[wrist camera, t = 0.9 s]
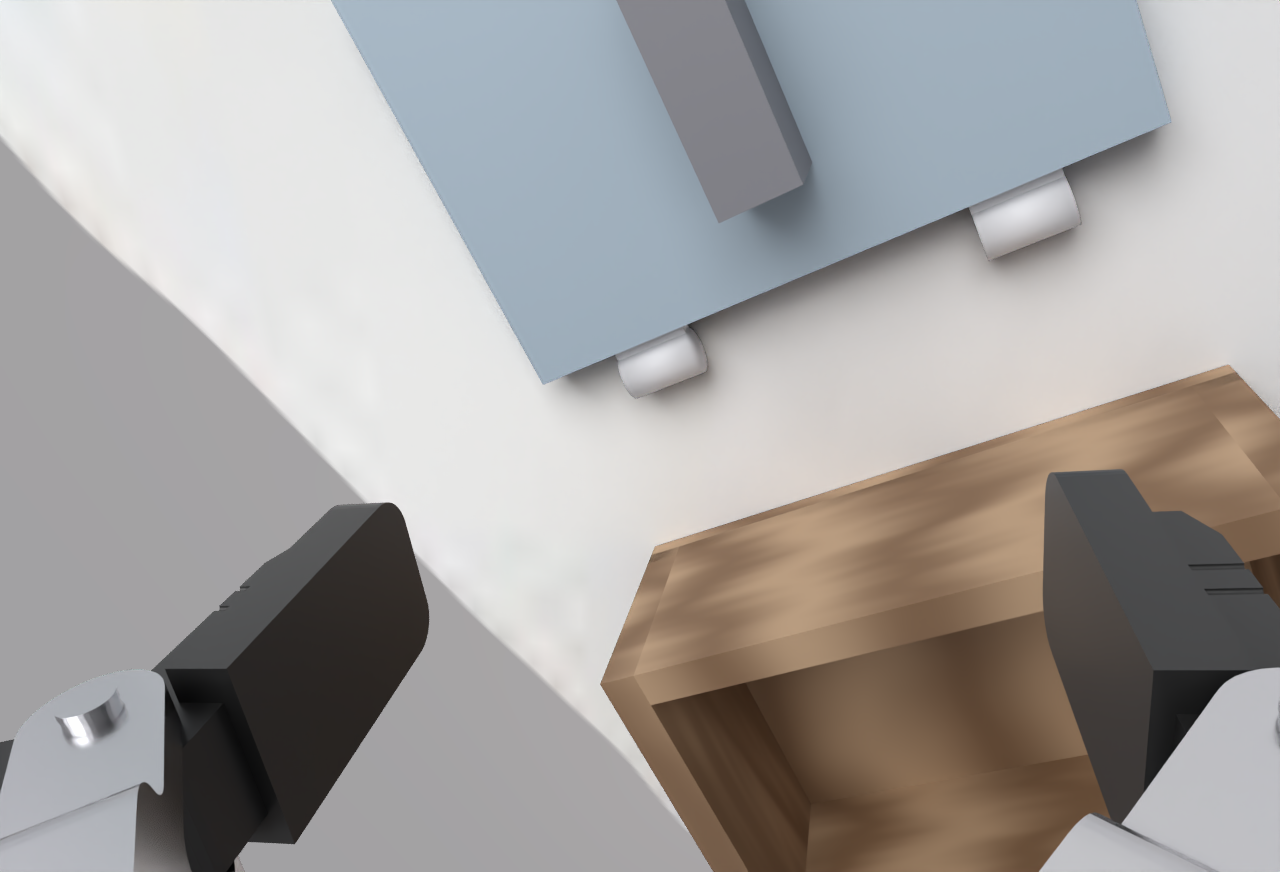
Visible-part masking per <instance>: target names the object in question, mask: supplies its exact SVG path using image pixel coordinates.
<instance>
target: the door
mask: <svg viewBox="0 0 1280 872" xmlns="http://www.w3.org/2000/svg"><path fill="white" fill-rule="evenodd" d="M331 1H332V3H333V5H334V7H335V8H336V10H337V12H338V14H339V16H340V17H341V19H342V21H343V23H344V25H345V27H346V28H347V30H348V32H349V34H350V36H351V37H352V39H353V41H354V43H355V45H356V46H357V48H358V50H359V52H360V54H361V56H362V57H363V59H364V61H365V63H366V65H367V66H368V68H369V70H370V72H371V74H372V75H373V77H374V79H375V81H376V83H377V85H378V86H379V88H380V90H381V92H382V94H383V95H384V97H385V99H386V101H387V103H388V104H389V106H390V108H391V110H392V112H393V114H394V115H395V117H396V119H397V121H398V123H399V124H400V126H401V128H402V130H403V132H404V133H405V135H406V137H407V139H408V141H409V143H410V144H411V146H412V148H413V150H414V152H415V153H416V155H417V157H418V159H419V161H420V162H421V164H422V166H423V168H424V170H425V172H426V173H427V175H428V177H429V179H430V181H431V182H432V184H433V186H434V188H435V190H436V191H437V193H438V195H439V197H440V199H441V201H442V202H443V204H444V206H445V208H446V210H447V211H448V213H449V215H450V217H451V219H452V220H453V222H454V224H455V226H456V228H457V230H458V231H459V233H460V235H461V237H462V239H463V240H464V242H465V244H466V246H467V248H468V249H469V251H470V253H471V255H472V257H473V259H474V260H475V262H476V264H477V266H478V268H479V269H480V271H481V273H482V275H483V277H484V278H485V280H486V282H487V284H488V286H489V288H490V289H491V291H492V293H493V295H494V297H495V298H496V300H497V302H498V304H499V306H500V307H501V309H502V311H503V313H504V315H505V317H506V318H507V320H508V322H509V324H510V326H511V327H512V329H513V331H514V333H515V335H516V336H517V338H518V340H519V342H520V344H521V346H522V347H523V349H524V351H525V353H526V355H527V356H528V358H529V360H530V362H531V364H532V366H533V367H534V369H535V371H536V373H537V375H538V376H539V378H540V380H541V382H542V384H543V385H544V384H546V383H549V382H551V381H553V380H556V379H558V378H560V377H563V376H565V375H568V374H570V373H572V372H575V371H577V370H580V369H582V368H584V367H587V366H589V365H592V364H594V363H596V362H599V361H601V360H604V359H606V358H608V357H611V356H613V355H615V356H616V358H617V360H618V368H619V373H620V376H621V379H622V382H623V384H624V386H625V388H626V389H627V391H628V392H629V393H630V394H631V395H632V396H633V397H634V398H640V397H643V396H645V395H648V394H650V393H653V392H656V391H658V390H661V389H663V388H666V387H668V386H671V385H673V384H676V383H678V382H681V381H684V380H686V379H689V378H691V377H694V376H696V375H699V374H701V373H704V372H706V371H707V367H708V365H707V358H706V354H705V351H704V348H703V346H702V343H701V341H700V339H699V337H698V336H697V334H696V333H695V332H694V330H693V329H691V328H689V327H688V325H687V324H690V323H692V322H694V321H697V320H699V319H702V318H704V317H706V316H709V315H711V314H714V313H716V312H718V311H721V310H723V309H726V308H728V307H730V306H733V305H735V304H738V303H740V302H742V301H745V300H747V299H750V298H752V297H754V296H757V295H759V294H761V293H764V292H766V291H769V290H771V289H773V288H776V287H778V286H781V285H783V284H785V283H788V282H790V281H793V280H795V279H797V278H800V277H802V276H805V275H807V274H809V273H812V272H814V271H817V270H819V269H821V268H824V267H826V266H828V265H831V264H833V263H836V262H838V261H840V260H843V259H845V258H848V257H850V256H852V255H855V254H857V253H860V252H862V251H864V250H867V249H869V248H872V247H874V246H876V245H879V244H881V243H884V242H886V241H888V240H891V239H893V238H895V237H898V236H900V235H903V234H905V233H907V232H910V231H912V230H915V229H917V228H919V227H922V226H924V225H927V224H929V223H931V222H934V221H936V220H939V219H941V218H943V217H946V216H948V215H951V214H953V213H955V212H958V211H960V210H962V209H965V208H967V207H969V210H970V213H971V215H972V218H973V221H974V224H975V226H976V229H977V232H978V235H979V237H980V240H981V243H982V245H983V248H984V250H985V253H986V256H987V258H988V261H990V260H992V259H995V258H997V257H1000V256H1003V255H1005V254H1008V253H1010V252H1013V251H1015V250H1018V249H1020V248H1023V247H1025V246H1028V245H1031V244H1033V243H1036V242H1038V241H1041V240H1043V239H1046V238H1048V237H1051V236H1054V235H1056V234H1059V233H1061V232H1064V231H1066V230H1069V229H1071V228H1074V227H1077V226H1079V225H1081V218H1080V214H1079V210H1078V207H1077V204H1076V201H1075V198H1074V196H1073V193H1072V190H1071V188H1070V186H1069V183H1068V181H1067V179H1066V177H1065V175H1064V172H1063V169H1062V168H1063V167H1065V166H1068V165H1070V164H1073V163H1075V162H1077V161H1080V160H1082V159H1085V158H1087V157H1089V156H1092V155H1094V154H1096V153H1099V152H1101V151H1104V150H1106V149H1108V148H1111V147H1113V146H1116V145H1118V144H1120V143H1123V142H1125V141H1128V140H1130V139H1132V138H1135V137H1137V136H1140V135H1142V134H1144V133H1147V132H1149V131H1152V130H1154V129H1156V128H1159V127H1161V126H1163V125H1166V124H1168V123H1171V118H1170V115H1169V111H1168V108H1167V104H1166V101H1165V97H1164V94H1163V91H1162V87H1161V84H1160V80H1159V77H1158V73H1157V70H1156V66H1155V63H1154V60H1153V56H1152V53H1151V49H1150V46H1149V42H1148V39H1147V35H1146V32H1145V29H1144V25H1143V22H1142V18H1141V15H1140V11H1139V8H1138V5H1137V1H1136V0H331Z"/></svg>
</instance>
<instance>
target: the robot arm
mask: <svg viewBox="0 0 1280 872" xmlns="http://www.w3.org/2000/svg"><path fill="white" fill-rule="evenodd" d="M1043 611H1044V620H1045V627H1046V633H1047V638H1048V642H1049V646H1050V649H1051V652H1052V655H1053V658H1054V660H1055V663H1056V666H1057V669H1058V672H1059V675H1060V677H1061V680H1062V683H1063V686H1064V689H1065V691H1066V694H1067V697H1068V700H1069V703H1070V705H1071V708H1072V711H1073V714H1074V717H1075V720H1076V722H1077V725H1078V728H1079V731H1080V734H1081V736H1082V739H1083V742H1084V745H1085V748H1086V750H1087V753H1088V756H1089V759H1090V762H1091V765H1092V767H1093V770H1094V773H1095V776H1096V779H1097V781H1098V784H1099V787H1100V790H1101V793H1102V796H1103V798H1104V801H1105V804H1106V807H1107V810H1108V812H1109V815H1110V818H1111V819H1110V818H1108V817H1106V816H1104V815H1101V814H1099V813H1096V812H1094V813H1090V814H1088V815H1086V816H1085V817H1083V818H1082V819H1081V820H1080V821H1079V822H1078V823H1077V824H1076V825H1075V826H1074V827H1073V828H1072V830H1071V831H1070V832H1069V833H1068V834H1067V836H1066V837H1065V838H1064V840H1063V841H1062V842H1061V844H1060V845H1059V846H1058V847H1057V849H1056V850H1055V851H1054V853H1053V854H1052V855H1051V857H1050V858H1049V859H1048V860H1047V862H1046V863H1045V864H1044V866H1043V867H1042V868H1041V870H1040V871H1039V872H1280V609H1279V607H1278V606H1277V605H1276V603H1275V602H1274V601H1273V600H1272V598H1271V597H1270V596H1269V594H1264V592H1263V587H1262V585H1261V584H1260V583H1259V581H1258V580H1257V579H1256V578H1255V576H1254V575H1253V574H1252V572H1251V571H1250V570H1249V569H1245V567H1244V562H1243V561H1242V560H1241V558H1240V557H1239V556H1238V554H1237V553H1236V552H1235V551H1234V549H1233V548H1232V547H1231V545H1230V544H1229V543H1228V541H1227V540H1226V539H1225V538H1224V536H1223V535H1222V534H1221V533H1219V532H1217V531H1215V530H1214V529H1212V528H1210V527H1208V526H1207V525H1205V524H1203V523H1202V522H1200V521H1198V520H1196V519H1195V518H1193V517H1191V516H1190V515H1188V514H1186V513H1184V512H1183V511H1159V512H1152V510H1151V509H1150V507H1149V506H1148V504H1147V503H1146V501H1145V500H1144V498H1143V497H1142V495H1141V494H1140V492H1139V491H1138V489H1137V488H1136V486H1135V485H1134V483H1133V482H1132V480H1131V479H1130V477H1129V476H1128V474H1127V473H1126V472H1125V471H1124V470H1123V469H1112V470H1091V471H1070V472H1051V473H1049V475H1048V478H1047V482H1046V489H1045V516H1044V555H1043ZM428 627H429V609H428V603H427V599H426V595H425V592H424V588H423V584H422V581H421V577H420V574H419V570H418V566H417V563H416V559H415V556H414V552H413V548H412V545H411V541H410V538H409V534H408V530H407V527H406V523H405V520H404V517H403V515H402V513H401V511H400V510H399V508H398V507H397V506H396V505H394V504H393V503H368V504H347V505H337V506H334V507H333V508H331V509H330V510H329V511H328V512H327V513H326V514H325V515H324V516H323V517H322V518H321V519H320V520H319V521H318V522H317V523H316V524H315V525H314V526H312V528H310V529H309V530H308V531H307V532H306V533H305V534H304V535H303V536H302V537H301V538H300V539H299V540H298V541H297V542H296V543H295V544H294V545H293V546H292V547H291V548H290V549H288V550H286V551H284V552H283V553H281V554H279V555H278V556H276V557H274V558H273V559H271V560H269V561H268V562H266V563H264V565H262V566H261V567H260V568H259V569H258V570H257V571H256V572H255V573H254V574H253V575H252V576H251V577H250V578H249V579H248V580H247V581H245V582H244V583H243V584H242V585H241V586H240V591H235V592H234V593H233V594H232V595H231V596H230V597H229V598H227V600H225V601H224V602H223V603H222V604H221V605H220V610H219V611H214V612H213V613H212V614H211V615H210V616H209V617H207V618H206V619H205V620H204V621H203V622H202V623H201V624H200V625H199V626H198V627H197V628H196V629H195V630H194V631H193V632H192V633H190V635H188V636H187V637H186V638H185V639H184V640H183V641H182V642H181V643H180V644H179V645H178V646H177V647H176V648H175V649H174V650H173V651H172V652H170V653H169V655H167V656H166V657H165V658H164V659H163V660H162V661H161V662H160V663H159V664H158V665H157V666H156V667H155V668H154V669H152V670H151V671H150V670H142V669H133V670H125V671H118V672H114V673H110V674H106V675H103V676H100V677H97V678H94V679H91V680H89V681H86V682H84V683H81V684H79V685H77V686H75V687H73V688H71V689H69V690H67V691H65V692H63V693H62V694H60V695H58V696H57V697H55V698H53V699H52V700H50V701H49V702H47V703H46V704H45V705H43V706H42V707H41V708H39V709H38V710H37V711H36V712H35V713H34V714H33V715H31V716H30V717H29V718H28V719H27V720H26V722H25V723H24V724H23V725H22V726H21V728H20V729H19V731H18V732H17V734H16V736H15V739H14V740H9V741H5V742H0V872H245V871H244V868H243V866H242V864H241V861H240V859H239V857H238V855H239V853H240V852H241V850H242V849H243V848H244V846H245V845H246V844H247V842H264V843H283V844H295V843H296V842H297V840H298V839H299V837H300V835H301V834H302V832H303V831H304V829H305V828H306V826H307V825H308V823H309V822H310V820H311V819H312V817H313V816H314V814H315V813H316V811H317V809H318V808H319V806H320V805H321V803H322V802H323V800H324V799H325V797H326V796H327V794H328V793H329V791H330V790H331V788H332V787H333V785H334V784H335V782H336V781H337V779H338V778H339V776H340V775H341V773H342V771H343V770H344V768H345V767H346V765H347V764H348V762H349V761H350V759H351V758H352V756H353V755H354V753H355V752H356V750H357V749H358V747H359V745H360V744H361V742H362V741H363V739H364V738H365V736H366V735H367V733H368V732H369V730H370V729H371V727H372V726H373V724H374V723H375V721H376V720H377V718H378V717H379V715H380V714H381V712H382V710H383V709H384V707H385V706H386V704H387V703H388V701H389V700H390V698H391V697H392V695H393V694H394V692H395V691H396V689H397V688H398V686H399V684H400V683H401V681H402V680H403V678H404V677H405V675H406V674H407V672H408V671H409V669H410V668H411V666H412V665H413V663H414V662H415V660H416V659H417V657H418V655H419V654H420V652H421V651H422V649H423V647H424V645H425V642H426V638H427V634H428Z"/></svg>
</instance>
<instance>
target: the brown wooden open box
mask: <svg viewBox="0 0 1280 872" xmlns="http://www.w3.org/2000/svg"><path fill="white" fill-rule="evenodd" d="M1112 469H1123V470H1124V471H1125V472H1126V473H1127V474H1128V476H1129V477H1130V479H1131V480H1132V482H1133V483H1134V485H1135V486H1136V488H1137V489H1138V491H1139V492H1140V494H1141V495H1142V497H1143V498H1144V500H1145V501H1146V503H1147V504H1148V506H1149V507H1150V509H1151V510H1152V512H1159V511H1183V512H1184V513H1186V514H1188V515H1190V516H1191V517H1193V518H1195V519H1196V520H1198V521H1200V522H1202V523H1203V524H1205V525H1207V526H1208V527H1210V528H1212V529H1214V530H1215V531H1217V532H1219V533H1221V534H1222V535H1223V536H1224V538H1225V539H1226V540H1227V541H1228V543H1229V544H1230V545H1231V547H1232V548H1233V549H1234V551H1235V552H1236V553H1237V554H1238V556H1239V557H1240V558H1241V560H1242V561H1243V562H1244V567H1245V569H1249V570H1250V571H1251V572H1252V574H1253V575H1254V576H1255V578H1256V579H1257V580H1258V581H1259V583H1260V584H1261V585H1262V587H1263V592H1264V594H1269V596H1270V597H1271V598H1272V600H1273V601H1274V602H1275V603H1276V605H1277V606H1278V607H1279V609H1280V419H1279V418H1278V417H1277V416H1276V415H1275V414H1274V413H1273V411H1272V410H1271V409H1270V408H1269V407H1268V406H1267V405H1266V404H1265V403H1264V402H1263V401H1262V400H1261V399H1260V398H1259V396H1258V395H1257V394H1256V393H1255V392H1254V391H1253V390H1252V389H1251V388H1250V387H1249V386H1248V385H1247V384H1246V383H1245V382H1244V380H1243V379H1242V378H1241V377H1240V376H1239V375H1238V374H1237V373H1236V372H1235V371H1234V370H1233V369H1232V368H1231V367H1230V365H1226V366H1223V367H1220V368H1217V369H1214V370H1210V371H1207V372H1204V373H1201V374H1198V375H1195V376H1192V377H1188V378H1185V379H1182V380H1179V381H1176V382H1173V383H1169V384H1166V385H1163V386H1160V387H1157V388H1154V389H1151V390H1147V391H1144V392H1141V393H1138V394H1135V395H1132V396H1128V397H1125V398H1122V399H1119V400H1116V401H1113V402H1110V403H1106V404H1103V405H1100V406H1097V407H1094V408H1091V409H1087V410H1084V411H1081V412H1078V413H1075V414H1072V415H1069V416H1065V417H1062V418H1059V419H1056V420H1053V421H1050V422H1046V423H1043V424H1040V425H1037V426H1034V427H1031V428H1028V429H1024V430H1021V431H1018V432H1015V433H1012V434H1009V435H1005V436H1002V437H999V438H996V439H993V440H990V441H987V442H983V443H980V444H977V445H974V446H971V447H968V448H964V449H961V450H958V451H955V452H952V453H949V454H946V455H942V456H939V457H936V458H933V459H930V460H927V461H923V462H920V463H917V464H914V465H911V466H908V467H905V468H901V469H898V470H895V471H892V472H889V473H886V474H882V475H879V476H876V477H873V478H870V479H867V480H864V481H860V482H857V483H854V484H851V485H848V486H845V487H841V488H838V489H835V490H832V491H829V492H826V493H823V494H819V495H816V496H813V497H810V498H807V499H804V500H800V501H797V502H794V503H791V504H788V505H785V506H782V507H778V508H775V509H772V510H769V511H766V512H763V513H759V514H756V515H753V516H750V517H747V518H744V519H741V520H737V521H734V522H731V523H728V524H725V525H722V526H718V527H715V528H712V529H709V530H706V531H703V532H700V533H696V534H693V535H690V536H687V537H684V538H681V539H677V540H674V541H671V542H668V543H665V544H662V545H659V546H655V548H654V550H653V553H652V555H651V558H650V560H649V563H648V565H647V568H646V570H645V573H644V576H643V578H642V581H641V583H640V586H639V588H638V591H637V593H636V596H635V598H634V601H633V603H632V606H631V608H630V611H629V613H628V616H627V618H626V621H625V623H624V626H623V628H622V631H621V633H620V636H619V638H618V641H617V643H616V646H615V648H614V651H613V653H612V656H611V658H610V661H609V664H608V666H607V669H606V671H605V674H604V676H603V679H602V681H601V684H600V685H601V686H602V688H603V690H604V691H605V693H606V695H607V696H608V698H609V700H610V701H611V703H612V705H613V706H614V708H615V710H616V711H617V713H618V715H619V716H620V718H621V720H622V721H623V723H624V724H625V726H626V728H627V729H628V731H629V733H630V734H631V736H632V738H633V739H634V741H635V743H636V744H637V746H638V748H639V749H640V751H641V753H642V754H643V756H644V758H645V759H646V761H647V763H648V764H649V766H650V768H651V769H652V771H653V773H654V774H655V776H656V777H657V779H658V781H659V782H660V784H661V786H662V787H663V789H664V791H665V792H666V794H667V796H668V797H669V799H670V801H671V802H672V804H673V806H674V807H675V809H676V811H677V812H678V814H679V816H680V817H681V819H682V821H683V822H684V824H685V826H686V827H687V829H688V830H689V832H690V834H691V835H692V837H693V839H694V840H695V842H696V844H697V845H698V847H699V848H700V850H701V852H702V854H703V855H704V857H705V859H706V860H707V862H708V864H709V865H710V867H711V869H712V870H713V871H714V872H1039V871H1040V870H1041V868H1042V867H1043V866H1044V864H1045V863H1046V862H1047V860H1048V859H1049V858H1050V857H1051V855H1052V854H1053V853H1054V851H1055V850H1056V849H1057V847H1058V846H1059V845H1060V844H1061V842H1062V841H1063V840H1064V838H1065V837H1066V836H1067V834H1068V833H1069V832H1070V831H1071V830H1072V828H1073V827H1074V826H1075V825H1076V824H1077V823H1078V822H1079V821H1080V820H1081V819H1082V818H1083V817H1085V816H1086V815H1088V814H1090V813H1094V812H1096V813H1099V814H1101V815H1104V816H1106V817H1108V818H1110V815H1109V812H1108V810H1107V807H1106V804H1105V801H1104V798H1103V796H1102V793H1101V790H1100V787H1099V784H1098V781H1097V779H1096V776H1095V773H1094V770H1093V767H1092V765H1091V762H1090V759H1089V756H1088V753H1087V750H1086V748H1085V745H1084V742H1083V739H1082V736H1081V734H1080V731H1079V728H1078V725H1077V722H1076V720H1075V717H1074V714H1073V711H1072V708H1071V705H1070V703H1069V700H1068V697H1067V694H1066V691H1065V689H1064V686H1063V683H1062V680H1061V677H1060V675H1059V672H1058V669H1057V666H1056V663H1055V660H1054V658H1053V655H1052V652H1051V649H1050V646H1049V642H1048V638H1047V633H1046V627H1045V620H1044V611H1043V555H1044V516H1045V489H1046V482H1047V478H1048V475H1049V473H1051V472H1070V471H1091V470H1112ZM1110 819H1111V818H1110Z"/></svg>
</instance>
